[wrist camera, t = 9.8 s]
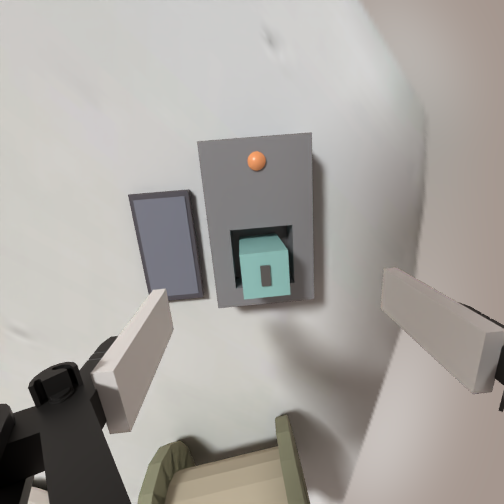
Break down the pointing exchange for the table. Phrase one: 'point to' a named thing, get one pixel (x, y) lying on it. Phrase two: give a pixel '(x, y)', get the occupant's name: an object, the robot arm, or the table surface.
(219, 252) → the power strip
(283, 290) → the block
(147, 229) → the phone
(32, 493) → the bowl
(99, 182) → the table surface
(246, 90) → the table surface
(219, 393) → the table surface
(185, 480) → the spool
